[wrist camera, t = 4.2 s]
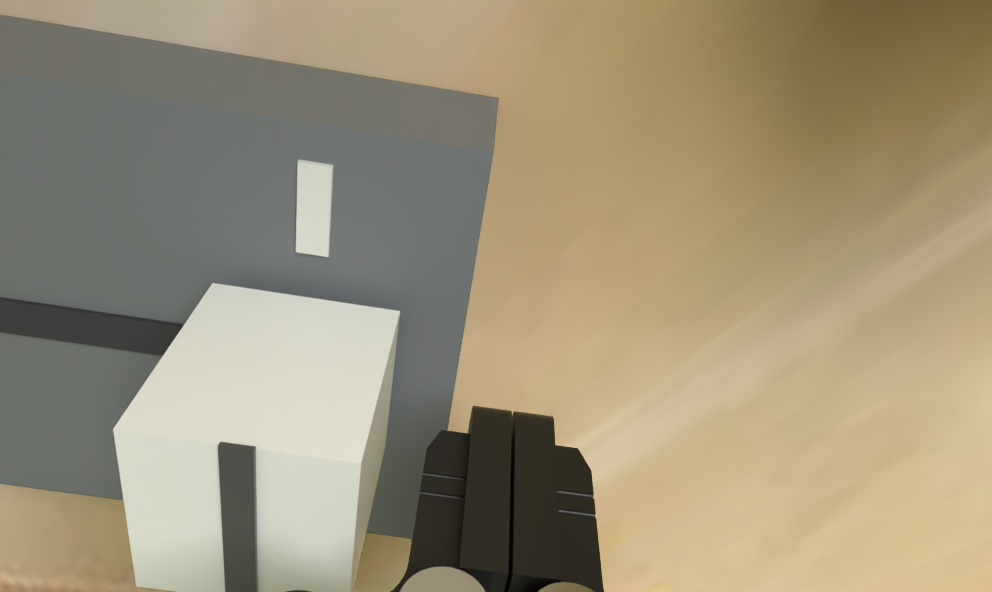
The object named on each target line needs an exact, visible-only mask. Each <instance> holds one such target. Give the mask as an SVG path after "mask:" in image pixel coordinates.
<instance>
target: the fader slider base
mask: <svg viewBox="0 0 992 592" xmlns="http://www.w3.org/2000/svg"><path fill="white" fill-rule="evenodd" d="M498 99H499V98H494V97H488V96H482V95H476V94H470V93H464V92H458V91H452V90H446V89H440V88H434V87H428V86H422V85H416V84H410V83H404V82H398V81H392V80H386V79H380V78H374V77H368V76H362V75H356V74H350V73H344V72H338V71H332V70H326V69H320V68H314V67H308V66H302V65H296V64H290V63H284V62H278V61H272V60H267V59H261V58H255V57H249V56H243V55H237V54H231V53H225V52H219V51H213V50H207V49H201V48H195V47H189V46H183V45H177V44H171V43H165V42H159V41H153V40H147V39H141V38H135V37H129V36H123V35H117V34H111V33H105V32H99V31H93V30H87V29H81V28H75V27H69V26H63V25H57V24H51V23H45V22H39V21H33V20H27V19H21V18H15V17H9V16H3V15H0V484H5V485H13V486H20V487H28V488H35V489H43V490H50V491H58V492H65V493H73V494H80V495H88V496H95V497H103V498H110V499H118V500H123V493H122V487H121V480H120V473H119V466H118V460H117V453H116V446H115V439H114V433H113V429H114V427H115V426H116V424H117V423H118V421H119V420H120V418H121V417H122V415H123V414H124V412H125V411H126V410H127V408H128V407H129V405H130V404H131V402H132V401H133V399H134V398H135V396H136V395H137V393H138V392H139V390H140V389H141V387H142V386H143V385H144V383H145V382H146V380H147V379H148V377H149V376H150V374H151V373H152V371H153V370H154V368H155V367H156V365H157V364H158V362H159V361H160V360H161V358H162V357H163V355H164V354H165V352H166V351H167V349H168V348H169V346H170V345H171V343H172V342H173V340H174V339H175V337H176V336H177V335H178V333H179V332H180V330H181V329H182V327H183V326H184V324H185V323H186V321H187V320H188V318H189V317H190V315H191V314H192V312H193V311H194V310H195V308H196V307H197V305H198V304H199V302H200V301H201V299H202V298H203V296H204V295H205V293H206V292H207V290H208V289H209V287H210V286H211V285H212V283H216V284H223V285H230V286H236V287H243V288H250V289H256V290H263V291H270V292H276V293H283V294H290V295H296V296H303V297H310V298H316V299H323V300H330V301H336V302H343V303H350V304H356V305H363V306H370V307H376V308H383V309H390V310H396V311H400V317H399V326H398V335H397V344H396V354H395V363H394V372H393V381H392V390H391V399H390V408H389V418H388V427H387V436H386V445H385V450H384V455H383V459H382V464H381V468H380V473H379V477H378V482H377V486H376V491H375V495H374V499H373V504H372V508H371V513H370V517H369V522H368V526H367V531H366V533H373V534H380V535H388V536H395V537H403V538H410V539H412V538H413V532H414V525H415V519H416V513H417V506H418V500H419V494H420V487H421V481H422V475H423V468H424V462H425V456H426V449H427V447H428V446H429V445H430V444H431V442H432V441H433V440H434V439H435V437H436V436H437V435H438V433H439V432H440V431H441V430H445V431H447V428H448V422H449V416H450V410H451V404H452V398H453V392H454V386H455V380H456V374H457V368H458V362H459V356H460V350H461V344H462V338H463V332H464V326H465V320H466V314H467V308H468V302H469V296H470V290H471V284H472V278H473V272H474V266H475V260H476V254H477V248H478V242H479V236H480V230H481V224H482V218H483V212H484V206H485V200H486V194H487V188H488V182H489V175H490V169H491V163H492V157H493V151H494V140H495V130H496V120H497V109H498Z"/></svg>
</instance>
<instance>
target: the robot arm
mask: <svg viewBox="0 0 992 592" xmlns="http://www.w3.org/2000/svg"><path fill="white" fill-rule="evenodd" d="M593 494H594V493H593V483H592V474H591V469H590V468H589V466H588V464H587V463H586V461H585V459H584V458H583V456H582V454H581V453H580V451H579V449H578V448H571V447H564V446H556V445H555V433H554V419H553V417H552V416H545V415H537V414H530V413H523V412H516V411H514V413H513V416H512V412H511V411H507V410H500V409H493V408H485V407H478V406H473V408H472V412H471V418H470V424H469V429H468V434H467V433H459V432H452V431H445V430H441V431H440V432H439V433H438V435H437V436H436V437H435V439H434V440H433V441H432V442H431V444H430V445H429V446H428V447H427V449H426V456H425V462H424V468H423V475H422V481H421V487H420V494H419V500H418V506H417V513H416V519H415V525H414V532H413V538H412V544H411V551H410V557H409V563H408V567H407V571H406V573H405V575H404V577H403V579H402V580H401V582H400V583H399V584H398V585H397V586H396V587H395V588H394V589H393V590H392V591H391V592H604V589H603V581H602V572H601V562H600V552H599V542H598V532H597V523H596V518H595V503H594V499H593ZM286 592H310V591H304V590H293V591H286Z"/></svg>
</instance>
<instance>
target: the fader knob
mask: <svg viewBox="0 0 992 592" xmlns="http://www.w3.org/2000/svg"><path fill="white" fill-rule="evenodd" d="M399 317H400V311H396V310H390V309H383V308H376V307H370V306H363V305H356V304H350V303H343V302H336V301H330V300H323V299H316V298H310V297H303V296H296V295H290V294H283V293H276V292H270V291H263V290H256V289H250V288H243V287H236V286H230V285H223V284H216V283H212V285H211V286H210V287H209V289H208V290H207V292H206V293H205V295H204V296H203V298H202V299H201V301H200V302H199V304H198V305H197V307H196V308H195V310H194V311H193V312H192V314H191V315H190V317H189V318H188V320H187V321H186V323H185V324H184V326H183V327H182V329H181V330H180V332H179V333H178V335H177V336H176V337H175V339H174V340H173V342H172V343H171V345H170V346H169V348H168V349H167V351H166V352H165V354H164V355H163V357H162V358H161V360H160V361H159V362H158V364H157V365H156V367H155V368H154V370H153V371H152V373H151V374H150V376H149V377H148V379H147V380H146V382H145V383H144V385H143V386H142V387H141V389H140V390H139V392H138V393H137V395H136V396H135V398H134V399H133V401H132V402H131V404H130V405H129V407H128V408H127V410H126V411H125V412H124V414H123V415H122V417H121V418H120V420H119V421H118V423H117V424H116V426H115V427H114V429H113V433H114V439H115V446H116V453H117V460H118V466H119V473H120V480H121V487H122V493H123V500H124V507H125V513H126V520H127V527H128V534H129V540H130V547H131V554H132V561H133V567H134V574H135V581H136V587H144V588H151V589H159V590H167V591H175V592H286V591H293V590H304V591H310V592H353V589H354V584H355V580H356V575H357V571H358V566H359V562H360V557H361V553H362V548H363V544H364V540H365V535H366V531H367V526H368V522H369V517H370V513H371V508H372V504H373V499H374V495H375V491H376V486H377V482H378V477H379V473H380V468H381V464H382V459H383V455H384V450H385V445H386V436H387V427H388V418H389V408H390V399H391V390H392V381H393V372H394V363H395V354H396V344H397V335H398V326H399Z"/></svg>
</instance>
